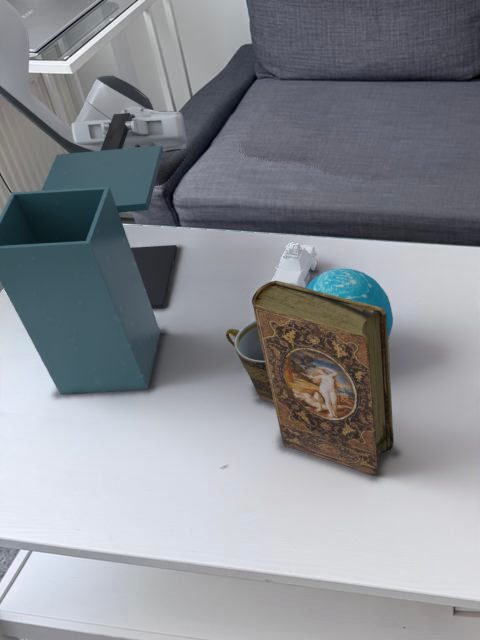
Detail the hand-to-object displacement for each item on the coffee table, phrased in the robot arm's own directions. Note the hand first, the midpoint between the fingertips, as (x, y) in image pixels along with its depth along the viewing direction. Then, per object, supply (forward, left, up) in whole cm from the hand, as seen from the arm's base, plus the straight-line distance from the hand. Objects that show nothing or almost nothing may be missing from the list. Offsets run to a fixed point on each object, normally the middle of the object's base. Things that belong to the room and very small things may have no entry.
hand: (117, 127), depth 131 cm
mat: (+12, -12, -19) cm, 26 cm away
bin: (+29, -27, -19) cm, 44 cm away
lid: (+8, -7, -1) cm, 11 cm away
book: (+70, -15, -19) cm, 74 cm away
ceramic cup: (+53, -13, -19) cm, 58 cm away
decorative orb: (+57, 0, -19) cm, 60 cm away
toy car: (+35, +8, -19) cm, 41 cm away
